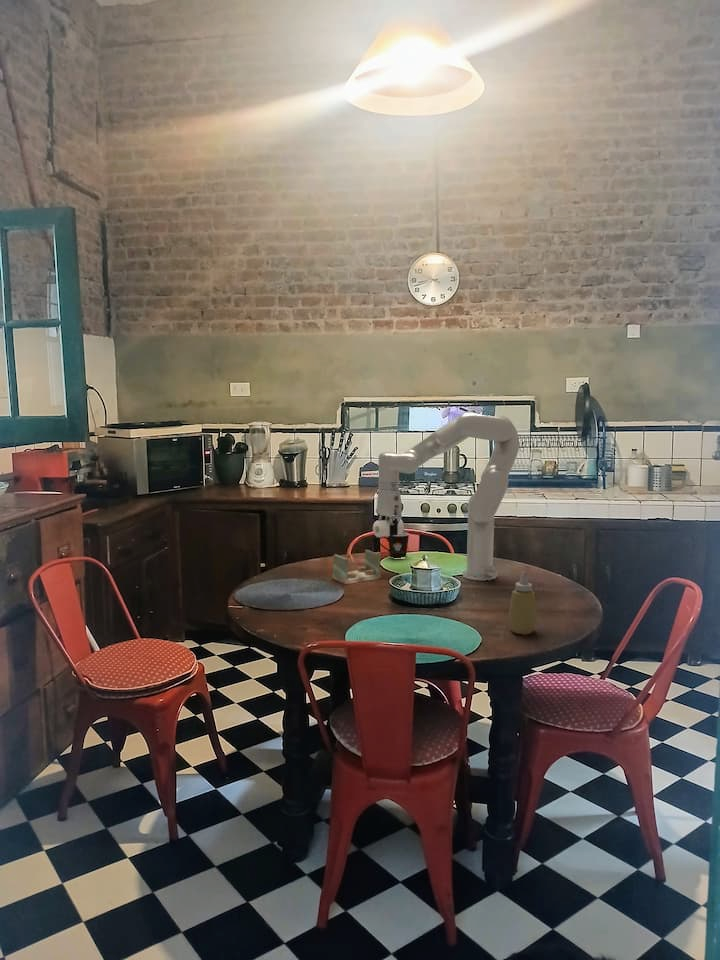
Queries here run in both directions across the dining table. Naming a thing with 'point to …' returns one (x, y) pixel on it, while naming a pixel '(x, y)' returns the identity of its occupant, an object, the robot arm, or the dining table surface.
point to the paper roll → (386, 528)
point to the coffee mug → (397, 545)
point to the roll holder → (362, 572)
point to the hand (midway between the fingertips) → (388, 533)
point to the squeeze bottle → (523, 607)
